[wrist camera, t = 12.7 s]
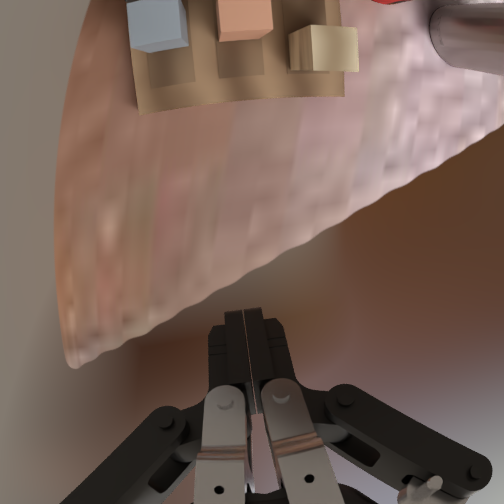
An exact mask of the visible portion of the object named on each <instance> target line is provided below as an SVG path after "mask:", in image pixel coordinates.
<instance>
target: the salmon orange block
mask: <svg viewBox="0 0 504 504" xmlns="http://www.w3.org/2000/svg"><path fill="white" fill-rule="evenodd" d="M216 15H217V26H218V37H219V42H225V41H236V40H251V39H260V38H261V37H263V36H264V35H266V34H267V33H269V32H270V31H271V30H273V20H272V8H271V0H216Z"/></svg>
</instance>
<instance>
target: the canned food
mask: <svg viewBox="0 0 504 504" xmlns="http://www.w3.org/2000/svg"><path fill="white" fill-rule="evenodd" d="M372 1H375V2H378V3H382V4H389V5H390V4H397V3H401V2H406V1H411V0H372Z"/></svg>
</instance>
